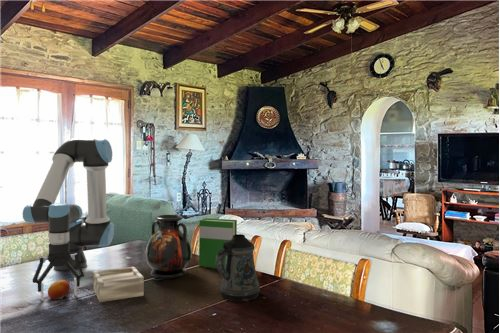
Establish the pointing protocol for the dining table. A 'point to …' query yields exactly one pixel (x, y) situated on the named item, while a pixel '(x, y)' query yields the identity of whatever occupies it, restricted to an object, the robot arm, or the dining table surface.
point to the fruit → (59, 289)
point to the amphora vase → (168, 248)
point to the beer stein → (238, 270)
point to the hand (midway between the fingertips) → (59, 297)
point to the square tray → (118, 284)
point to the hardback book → (214, 239)
